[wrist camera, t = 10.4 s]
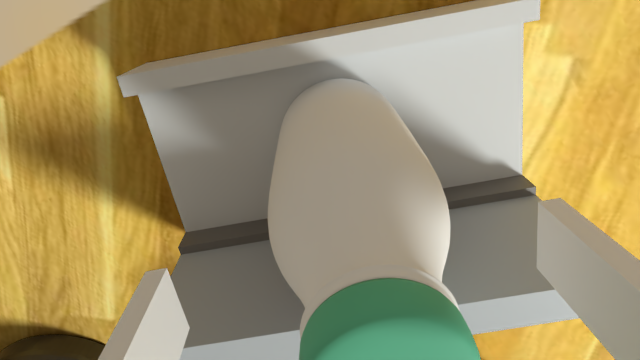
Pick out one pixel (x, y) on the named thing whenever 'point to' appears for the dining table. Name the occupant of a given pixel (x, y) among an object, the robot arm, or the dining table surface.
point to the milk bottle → (362, 231)
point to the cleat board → (420, 118)
